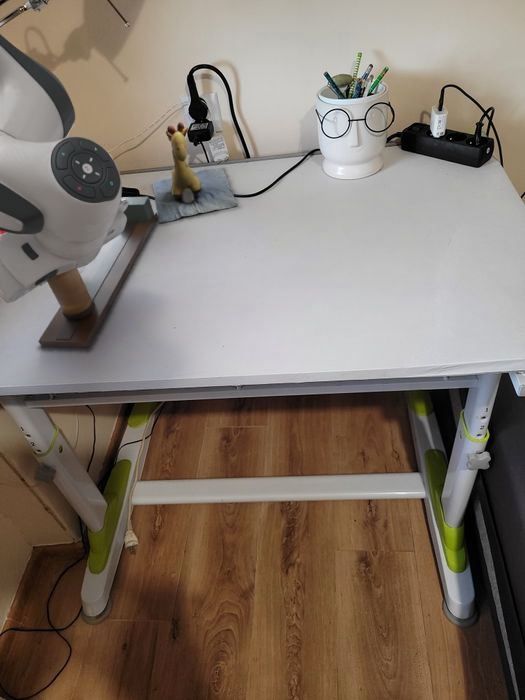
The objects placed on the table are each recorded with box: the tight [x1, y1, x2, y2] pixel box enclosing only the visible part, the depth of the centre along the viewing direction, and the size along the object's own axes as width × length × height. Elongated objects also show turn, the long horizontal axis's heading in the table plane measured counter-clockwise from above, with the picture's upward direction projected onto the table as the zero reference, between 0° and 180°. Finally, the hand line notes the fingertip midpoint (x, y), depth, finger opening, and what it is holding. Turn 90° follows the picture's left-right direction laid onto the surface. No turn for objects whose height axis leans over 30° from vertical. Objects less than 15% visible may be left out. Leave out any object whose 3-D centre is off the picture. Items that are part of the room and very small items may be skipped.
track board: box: [37, 211, 159, 349], centre depth 91 cm, size 37×8×1 cm, turn 171°
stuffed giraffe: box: [152, 121, 238, 223], centre depth 103 cm, size 16×18×16 cm
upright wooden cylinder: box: [47, 268, 95, 320], centre depth 77 cm, size 5×5×15 cm
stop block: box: [121, 196, 154, 222], centre depth 100 cm, size 3×7×5 cm, turn 81°
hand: (57, 269), depth 77 cm, fingers closed on upright wooden cylinder, 5 cm apart
